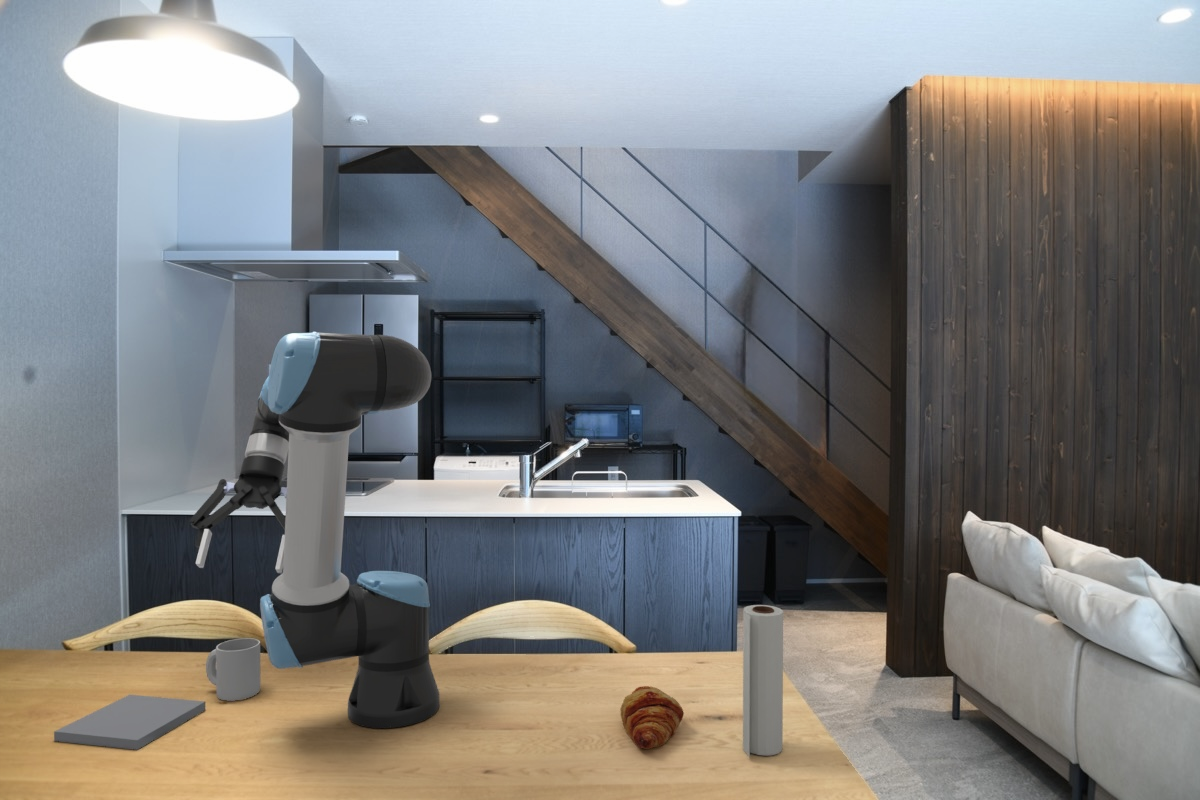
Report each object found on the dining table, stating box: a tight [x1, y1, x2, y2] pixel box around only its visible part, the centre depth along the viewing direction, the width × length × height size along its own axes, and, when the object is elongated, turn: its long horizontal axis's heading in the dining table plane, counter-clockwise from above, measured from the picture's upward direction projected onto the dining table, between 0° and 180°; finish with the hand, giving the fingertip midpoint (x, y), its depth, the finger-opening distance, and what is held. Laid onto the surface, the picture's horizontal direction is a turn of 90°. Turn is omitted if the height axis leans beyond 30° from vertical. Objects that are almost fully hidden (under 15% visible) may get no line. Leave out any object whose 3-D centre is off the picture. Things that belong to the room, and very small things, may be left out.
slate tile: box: [53, 694, 207, 751], centre depth 129 cm, size 15×15×2 cm
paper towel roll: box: [742, 604, 784, 760], centre depth 120 cm, size 7×6×21 cm
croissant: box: [620, 685, 684, 750], centre depth 128 cm, size 21×10×8 cm, turn 175°
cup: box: [205, 637, 262, 702], centre depth 142 cm, size 7×10×9 cm
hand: (239, 568), depth 143 cm, fingers open, 13 cm apart
